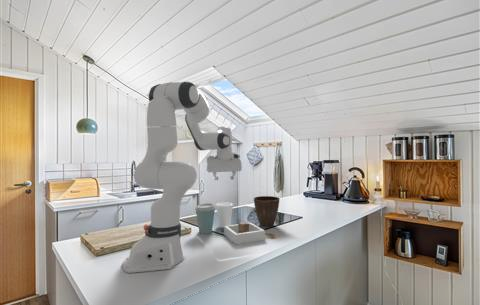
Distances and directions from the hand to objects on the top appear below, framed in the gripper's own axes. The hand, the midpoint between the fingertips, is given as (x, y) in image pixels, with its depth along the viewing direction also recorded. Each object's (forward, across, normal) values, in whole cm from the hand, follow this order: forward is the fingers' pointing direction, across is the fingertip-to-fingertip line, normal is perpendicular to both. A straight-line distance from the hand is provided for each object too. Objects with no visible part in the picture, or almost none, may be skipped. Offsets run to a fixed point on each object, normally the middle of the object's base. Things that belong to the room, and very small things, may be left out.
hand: (224, 179), depth 146 cm
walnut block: (+26, +2, -22) cm, 34 cm away
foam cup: (+27, 0, 0) cm, 27 cm away
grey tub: (+27, +2, -22) cm, 35 cm away
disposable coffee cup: (+27, -13, -6) cm, 31 cm away
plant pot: (+27, +23, -8) cm, 36 cm away
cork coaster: (+27, +15, -26) cm, 40 cm away
